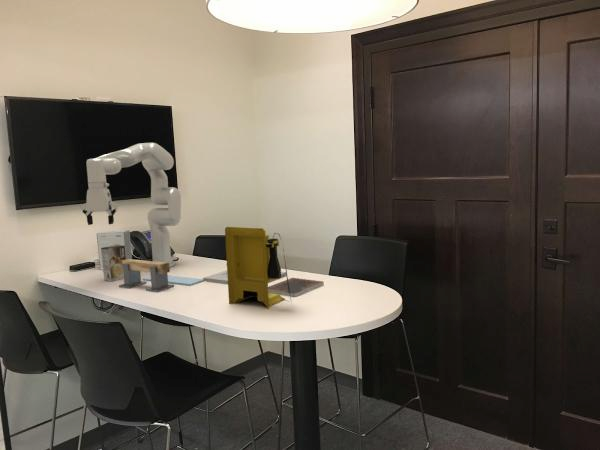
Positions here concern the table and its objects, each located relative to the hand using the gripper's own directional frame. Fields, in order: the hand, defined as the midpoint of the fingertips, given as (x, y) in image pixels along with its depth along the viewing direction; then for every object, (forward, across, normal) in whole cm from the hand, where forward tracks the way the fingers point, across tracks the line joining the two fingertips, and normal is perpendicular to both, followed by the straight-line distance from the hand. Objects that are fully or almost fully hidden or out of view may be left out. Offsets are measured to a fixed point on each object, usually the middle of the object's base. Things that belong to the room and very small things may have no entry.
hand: (100, 224), depth 226 cm
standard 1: (+28, -12, -1) cm, 31 cm away
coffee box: (+29, +2, -14) cm, 32 cm away
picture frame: (+30, -88, +9) cm, 93 cm away
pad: (+28, -29, -9) cm, 41 cm away
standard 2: (+29, -28, +6) cm, 40 cm away
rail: (+21, -20, +2) cm, 29 cm away
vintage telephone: (+29, -77, +30) cm, 87 cm away
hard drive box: (+29, +14, -41) cm, 52 cm away
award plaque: (+29, -63, -11) cm, 70 cm away
